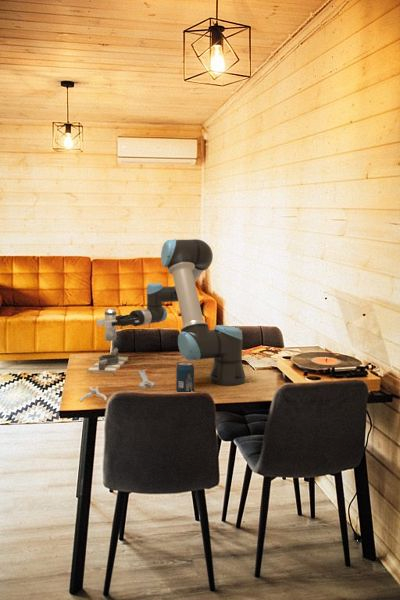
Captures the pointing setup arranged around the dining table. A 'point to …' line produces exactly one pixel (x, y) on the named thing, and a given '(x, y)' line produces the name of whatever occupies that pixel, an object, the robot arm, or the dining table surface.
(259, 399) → the dining table surface
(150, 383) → the adjustable wrench
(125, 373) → the dining table surface
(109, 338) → the coupler
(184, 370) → the soda can
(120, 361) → the coupling base
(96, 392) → the pliers
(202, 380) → the dining table surface
